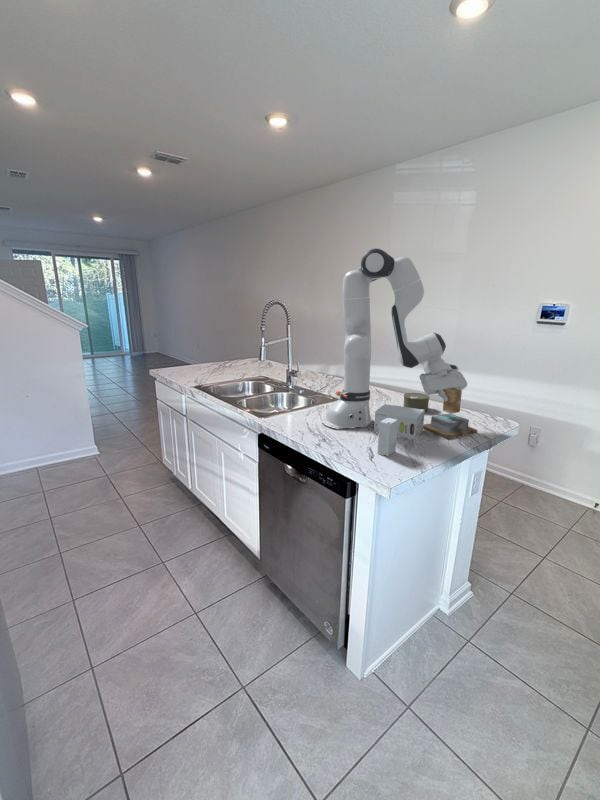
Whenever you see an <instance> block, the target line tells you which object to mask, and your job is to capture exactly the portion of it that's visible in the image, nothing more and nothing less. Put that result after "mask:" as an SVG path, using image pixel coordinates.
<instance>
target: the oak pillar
mask: <svg viewBox="0 0 600 800" xmlns="http://www.w3.org/2000/svg"><path fill="white" fill-rule="evenodd" d="M462 392H463V390H459V389H455V388H452V389H445V392H444V394H445V395H446V396H449V398H450V400H449V401H448V402H445V401H444V400H443V405H442V411H443V412H446V413H447V414H448V413H451V414H455V413H460V411H461V401H462Z"/></svg>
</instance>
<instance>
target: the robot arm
mask: <svg viewBox="0 0 600 800" xmlns="http://www.w3.org/2000/svg"><path fill="white" fill-rule="evenodd" d="M383 278H384V279H387V281H388V282H389V284H390V286H391V288H392V289H391V290H392V292H393V295H394V304H393V305H392V307H391V319H392V324H393V330H394V335H395V341H396V346H397V357H398V360H399V362H400V364H401V365H402V366H403V367H406V368H409V369H413V368H414V367H416V366H419V365H421V366H422V368H423V370H424V372H423V373H421V374H420V375H419V376H418V377H419V380H420V382H421V386H422V389H423V391H424V394H426V395H428V396H430V395H436V394H437V395H438V396H439V397H440V398H442V400H443V402H444V401H445V402H448V401H449V400H450V398H449V396H446V395H445V394H444V392H445V389H452V388H455V389H459V390H462V391H463V390H464V389H466V388H467V386H468V381H467V380H466V378H465V376H464V375H463V374H462V372H461V371H459V369H460V368H459V366H458V365H455V364H451V363H447V362H446V361H445V360H444V359H443V358H442V355H443V354H444V352H445V350H446V347H447V345H446V343H445V341H444V338H443V337H442V335H440V334H439V333H436V332H431V333H428V334H426V335H423V336H421V337H418V338H416V339H413V340H411V341H408V336H407V331H406V326H405V323H406V319H407V317H408V315H409V314H410V313H411V312H412V311H413V310H414V309H415V308H417V306H419V304H420V303H421V302H422V300H423V297H424V295H425V288H424V285H423V282H422V280H421V277H420V274H419V272H418V270H417V267H416V266H415V265H414V262H413V261H412V259H410V258H409V257H407V256H399V257H397V258H394V257H392V256H391V255H390V254H389V253H387V252H386V251H385V250H383V249H381V248H376V247H375V248H371V249H369V250H367V251H366V252H365V253H364V255H363V256H362V258H361V259H360V266H359V267H358V268H357V269H354V270H350V271H348V272H346V273H345V275H344V276H343V281H342V289H341V292H342V295H341V297H342V317H343V328H344V336H345V337H344V338H345V341H344V345H343V373H344V374H343V389H342V391H339V390H336V392H335V395H336V396H338V397H339V399H337V400H336V401H335V402H334V403H333V404H332V405H330V406H329V407H328V408H327V410H326V411H327V412H326V414H325V415H326V416H325V417H322V418H321V419H322V420H325V421H323V422H324V423H325V424H327V425H329V426H331V427H335V428H349V429H352V428H351V427H361V428H368V427H369V426H370V424H371V423H373V422H372V417H371V412H370V399H371V390H370V383H371V382H370V378H371V358H372V357H371V356H372V335H371V333H372V331H371V329H372V328H371V306H370V305H371V304H370V303H371V302H370V285H371V283H372V282H374V281H377V280H380V279H383Z"/></svg>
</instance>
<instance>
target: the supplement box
mask: <svg viewBox="0 0 600 800" xmlns="http://www.w3.org/2000/svg"><path fill="white" fill-rule="evenodd" d="M425 413H426V412H425V410H423V409H416V408H408V407H404V406H401V405H393V404H389V403H384V404H383V405H382V406H381V407H379V408H378V409H377V410H376V409H375V411H374V423H373V424H374V426H373V433H375V432H377V433H376V434H379V424H380V421H382V420H384V419H386V418H392V419H397V420H398V426H397V438H402V439H403V438H404V439H407V440H413V441H414V440H415V441H416V439H418V437H419V436H420V434H422V432H423V431H424V429H423V425H424V421H425Z"/></svg>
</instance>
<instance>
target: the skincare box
mask: <svg viewBox="0 0 600 800" xmlns="http://www.w3.org/2000/svg"><path fill="white" fill-rule="evenodd" d="M397 426H398V420H397V419H392V418H386V419H384V420H382V421H380V424H379V433H378V439H377V443H378V444H377V454H378V453H379V454H378V455H381V454H383V455H382V456H384V455H386V456H385V457H389V456H390V455H392V454H393V453H394V452H396V450H397V448H396V447H397V438H398V437H397Z"/></svg>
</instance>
